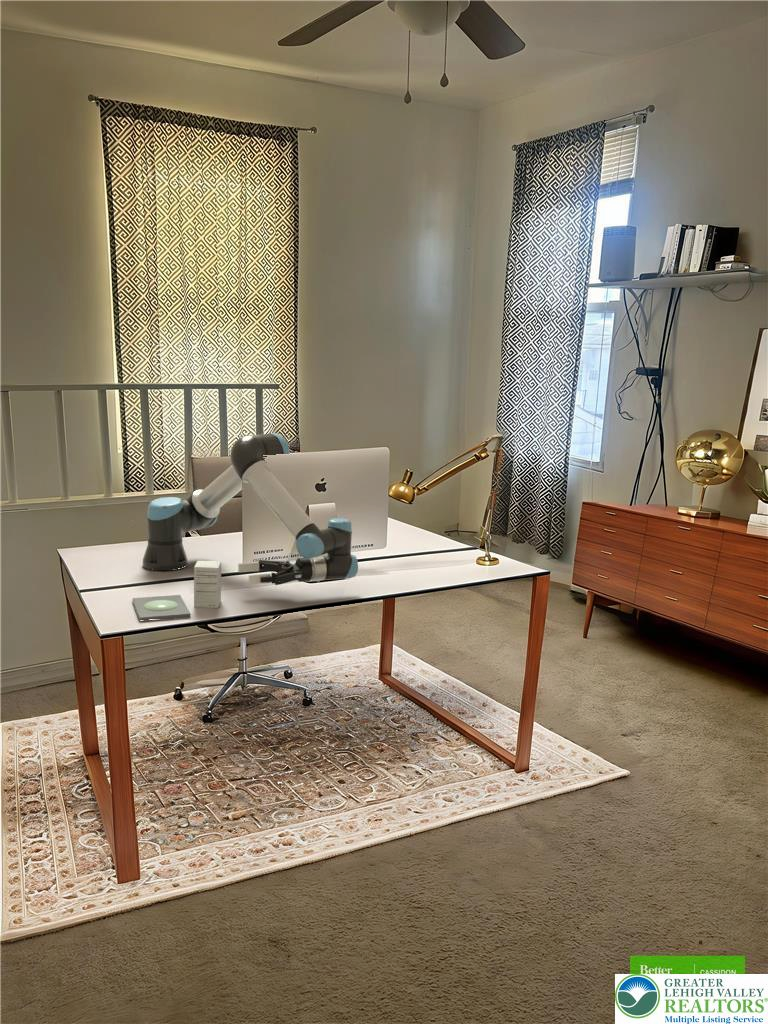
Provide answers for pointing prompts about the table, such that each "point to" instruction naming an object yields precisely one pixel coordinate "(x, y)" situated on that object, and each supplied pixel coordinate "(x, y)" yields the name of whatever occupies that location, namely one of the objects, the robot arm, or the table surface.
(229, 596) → the table surface
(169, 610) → the charging pad
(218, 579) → the supplement box
